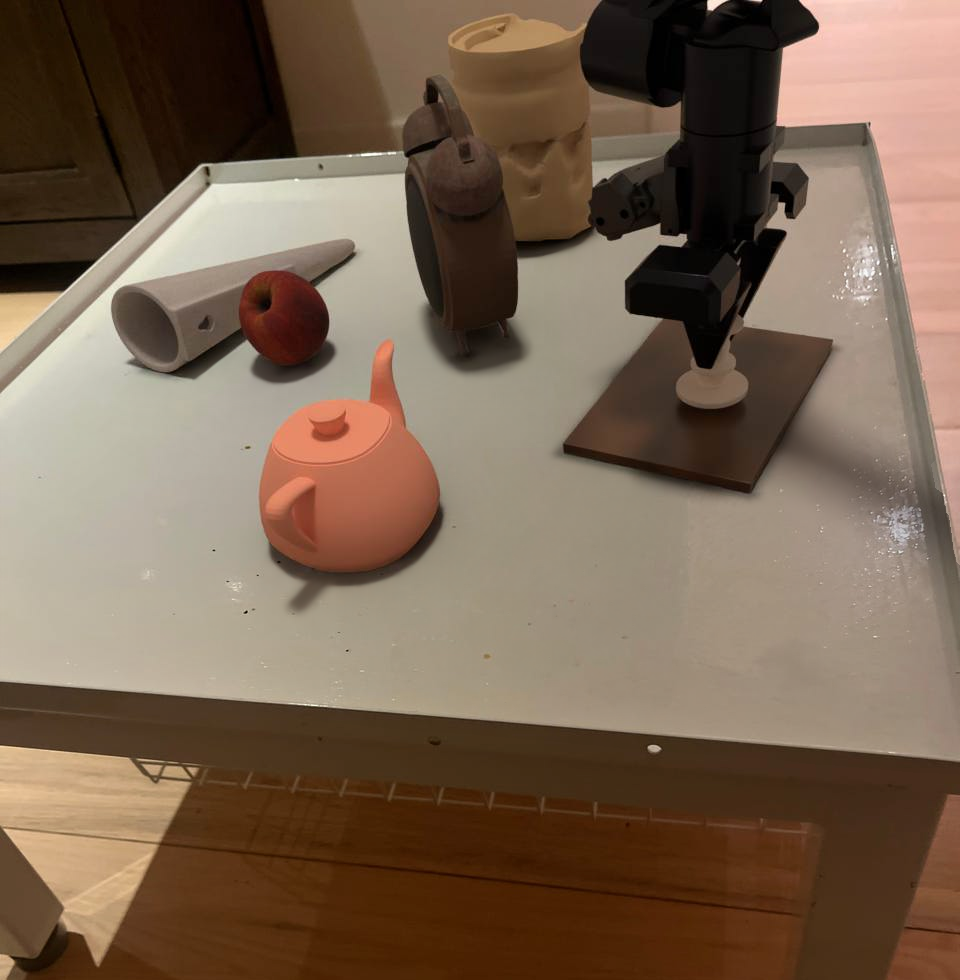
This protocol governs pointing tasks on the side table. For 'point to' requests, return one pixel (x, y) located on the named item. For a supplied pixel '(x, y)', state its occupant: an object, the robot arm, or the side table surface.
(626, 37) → the robot arm
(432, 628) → the side table surface
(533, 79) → the container
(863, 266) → the side table surface
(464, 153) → the alarm clock
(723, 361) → the candle
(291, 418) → the teapot
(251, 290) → the apple
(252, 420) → the side table surface
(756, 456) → the walnut board
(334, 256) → the planter
